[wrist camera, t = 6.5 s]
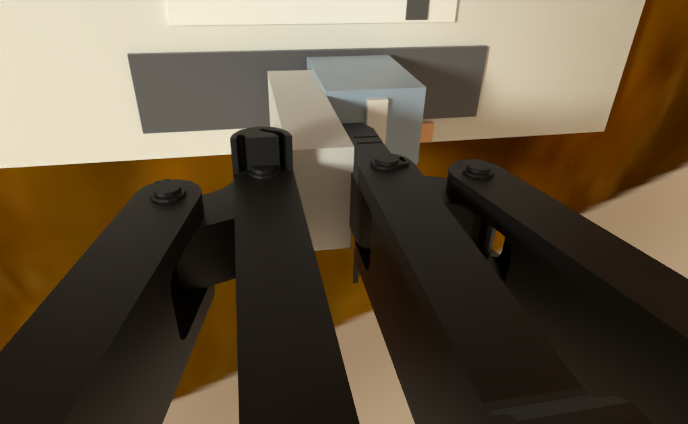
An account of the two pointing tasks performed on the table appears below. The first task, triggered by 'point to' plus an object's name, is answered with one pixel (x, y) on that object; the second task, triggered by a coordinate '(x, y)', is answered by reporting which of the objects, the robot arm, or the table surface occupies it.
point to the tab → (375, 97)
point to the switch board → (292, 68)
